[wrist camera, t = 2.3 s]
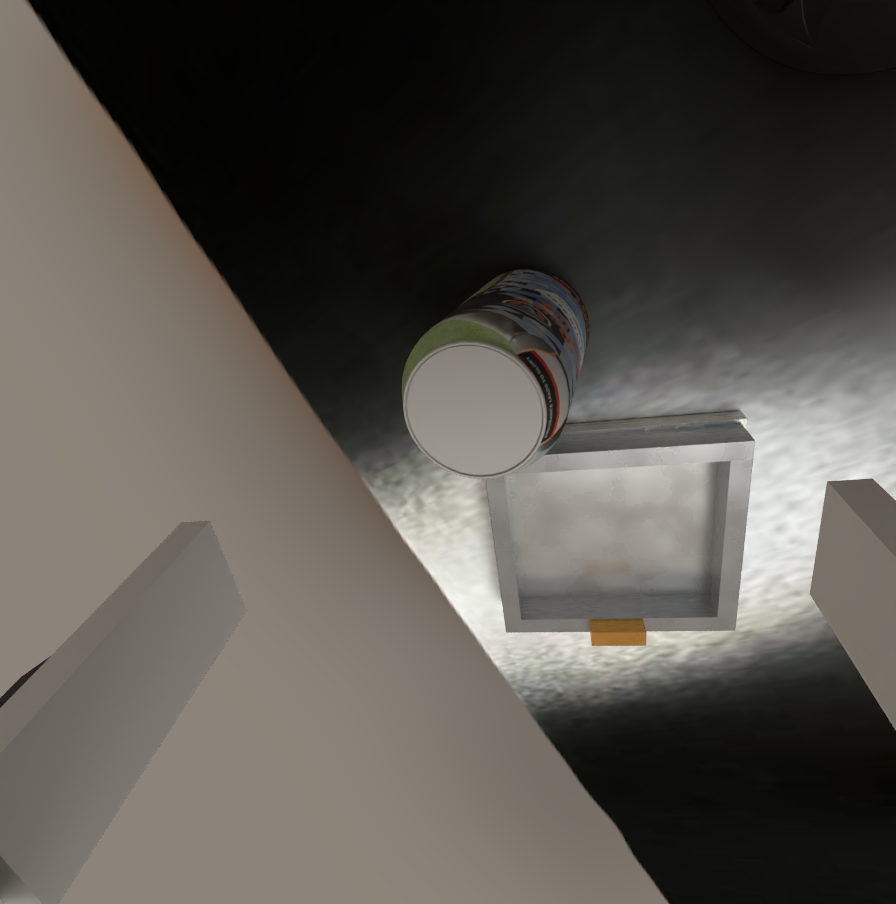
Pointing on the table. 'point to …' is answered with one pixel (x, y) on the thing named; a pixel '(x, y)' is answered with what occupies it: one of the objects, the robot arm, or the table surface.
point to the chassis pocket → (626, 528)
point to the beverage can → (497, 375)
